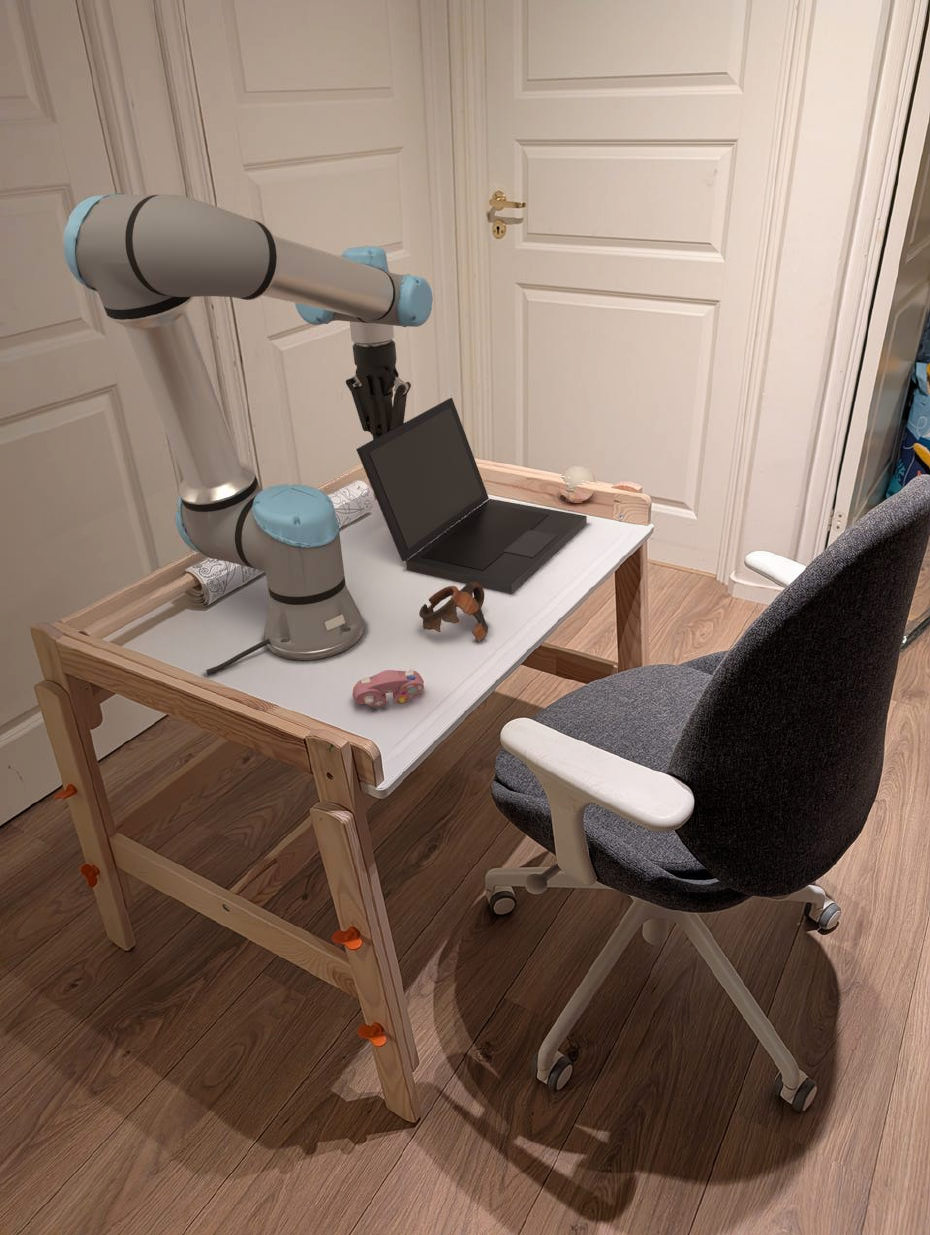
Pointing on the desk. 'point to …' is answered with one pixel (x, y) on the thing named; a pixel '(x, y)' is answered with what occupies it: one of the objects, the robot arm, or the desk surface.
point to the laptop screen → (423, 477)
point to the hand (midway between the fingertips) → (386, 468)
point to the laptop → (497, 545)
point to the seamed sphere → (577, 477)
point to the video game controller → (388, 687)
